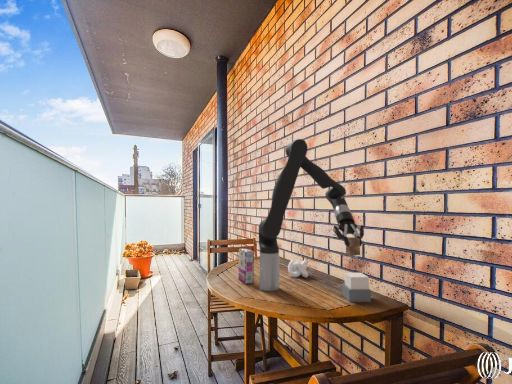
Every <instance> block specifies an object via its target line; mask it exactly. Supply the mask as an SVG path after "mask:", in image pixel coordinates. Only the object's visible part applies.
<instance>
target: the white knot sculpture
mask: <svg viewBox="0 0 512 384" xmlns="http://www.w3.org/2000/svg"><path fill="white" fill-rule="evenodd" d="M308 267H309V262H308V260H307V259H304V260H302V262H301V261H300V260H298V259H296V258H295V259H291V260H290V261H289V263H288V265H287V271H288V275H289V276H291V277H292V278H298V277H301V275H302V277H304V278H308V276H309V273H308V271H307V268H308Z"/></svg>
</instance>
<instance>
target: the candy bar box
mask: <svg viewBox="0 0 512 384" xmlns="http://www.w3.org/2000/svg"><path fill="white" fill-rule="evenodd" d="M254 259H255V253H254V251H253V250H251V249H249V248H239V249H238V280H239V281H240V282H242V283H243V284H244V285H251V284H254V277H255V276H254V272H255V271H254V265H255V263H254V262H255V261H254Z"/></svg>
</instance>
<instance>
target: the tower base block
mask: <svg viewBox="0 0 512 384" xmlns="http://www.w3.org/2000/svg"><path fill="white" fill-rule="evenodd" d="M341 295H342V296H343V297H344V298H345V299H346V300H347V301H348V302H349V303H350V302H351V303H352V302H353V303H355V302H356V303H361V302H362V303H372V290H371V289H370V288H369V290H363V289H350V288H349V287H348V286H346V285H345V282H344V283H341Z"/></svg>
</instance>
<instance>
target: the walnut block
mask: <svg viewBox="0 0 512 384" xmlns="http://www.w3.org/2000/svg"><path fill="white" fill-rule="evenodd" d="M347 237H348V236H347ZM348 241H349V243H350V245H349V247H347V245H345V254H347V255H349V256H361V246H360V239H359V238H356V237H354V236H352V237H348Z"/></svg>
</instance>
